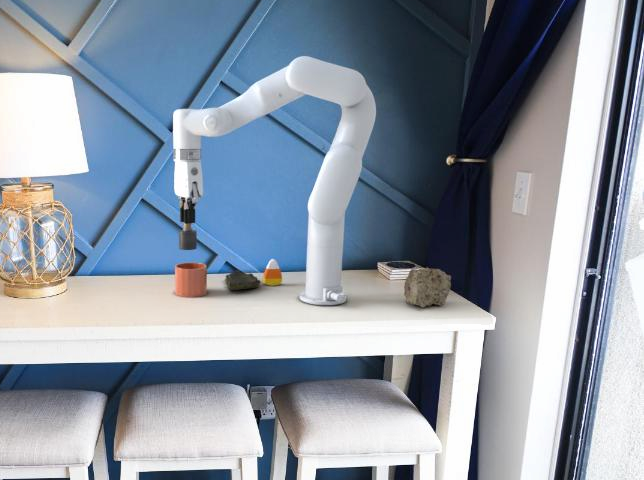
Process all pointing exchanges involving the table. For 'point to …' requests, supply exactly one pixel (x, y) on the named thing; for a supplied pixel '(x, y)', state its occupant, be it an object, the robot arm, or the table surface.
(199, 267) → the tumbler
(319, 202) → the robot arm
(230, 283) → the stone
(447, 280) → the rock
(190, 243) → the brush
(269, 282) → the candy corn
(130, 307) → the table surface
